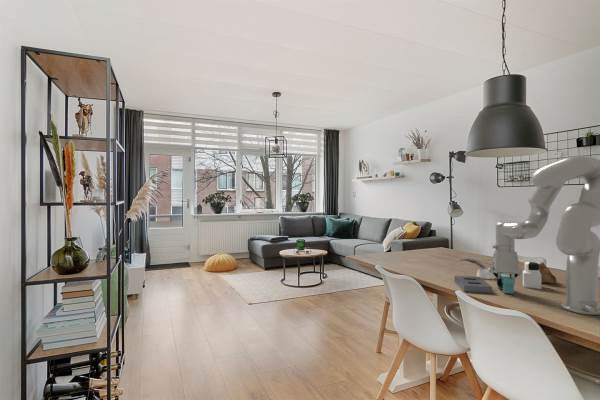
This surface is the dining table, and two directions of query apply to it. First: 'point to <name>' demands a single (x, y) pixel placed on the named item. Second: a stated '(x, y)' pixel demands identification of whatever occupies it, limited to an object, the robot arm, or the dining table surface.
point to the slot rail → (473, 284)
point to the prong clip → (507, 284)
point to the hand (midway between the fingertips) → (505, 286)
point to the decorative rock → (546, 274)
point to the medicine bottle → (532, 275)
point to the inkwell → (483, 271)
